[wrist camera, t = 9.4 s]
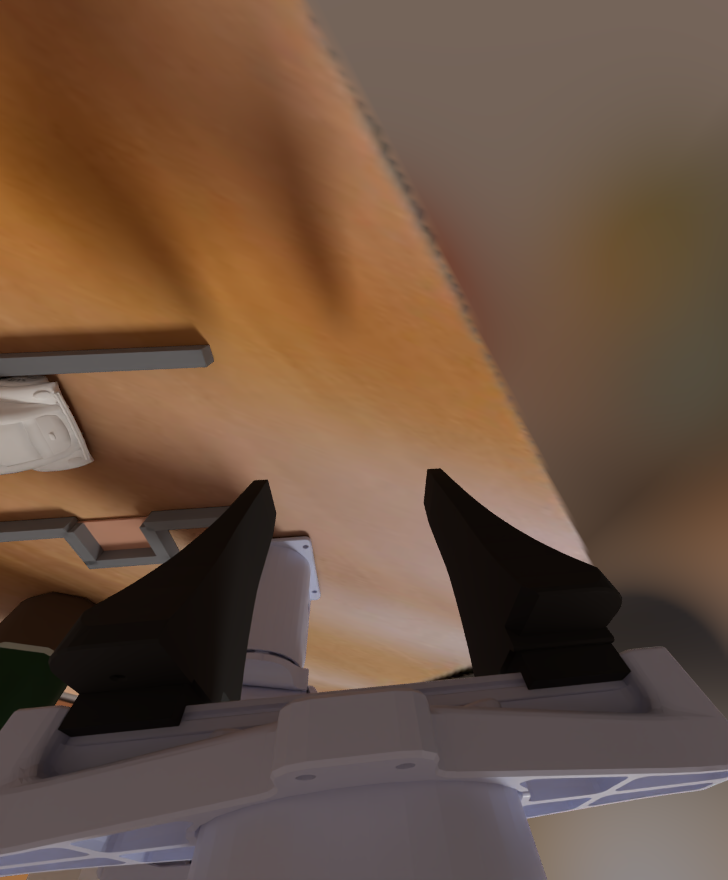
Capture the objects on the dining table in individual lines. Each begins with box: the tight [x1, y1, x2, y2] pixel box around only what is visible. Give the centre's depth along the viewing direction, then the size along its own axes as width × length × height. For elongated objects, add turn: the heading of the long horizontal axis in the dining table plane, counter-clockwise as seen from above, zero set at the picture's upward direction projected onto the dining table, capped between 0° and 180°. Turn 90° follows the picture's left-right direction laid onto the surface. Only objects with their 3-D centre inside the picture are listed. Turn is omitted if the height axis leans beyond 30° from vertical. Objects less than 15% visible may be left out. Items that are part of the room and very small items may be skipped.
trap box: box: [0, 345, 230, 569], centre depth 19 cm, size 22×28×3 cm
